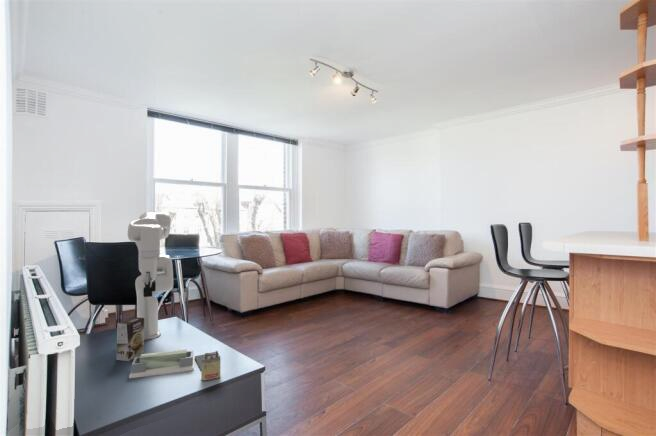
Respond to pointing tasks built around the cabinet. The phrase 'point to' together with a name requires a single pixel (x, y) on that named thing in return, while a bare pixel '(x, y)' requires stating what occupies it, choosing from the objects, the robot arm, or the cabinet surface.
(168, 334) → the cabinet surface
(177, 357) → the rail
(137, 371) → the bracket board
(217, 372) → the worn yellow tin
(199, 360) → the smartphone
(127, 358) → the coffee box
